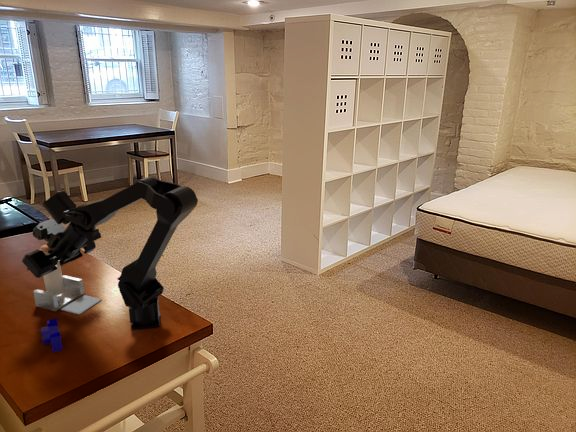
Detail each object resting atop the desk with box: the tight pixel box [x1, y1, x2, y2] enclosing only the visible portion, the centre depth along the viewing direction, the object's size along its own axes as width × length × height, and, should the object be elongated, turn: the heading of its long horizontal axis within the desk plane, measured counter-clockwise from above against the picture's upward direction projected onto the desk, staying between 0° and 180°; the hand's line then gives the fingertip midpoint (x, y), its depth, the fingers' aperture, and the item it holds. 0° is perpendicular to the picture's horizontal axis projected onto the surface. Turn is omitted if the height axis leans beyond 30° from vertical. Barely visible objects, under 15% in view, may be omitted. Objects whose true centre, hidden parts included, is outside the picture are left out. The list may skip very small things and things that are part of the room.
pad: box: [60, 294, 102, 316], centre depth 115 cm, size 6×8×1 cm
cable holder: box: [40, 317, 64, 353], centre depth 99 cm, size 8×4×4 cm, turn 33°
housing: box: [33, 274, 85, 312], centre depth 116 cm, size 6×10×4 cm, turn 161°
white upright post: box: [39, 243, 65, 295], centre depth 114 cm, size 4×4×14 cm
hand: (47, 269), depth 115 cm, fingers closed on white upright post, 4 cm apart
